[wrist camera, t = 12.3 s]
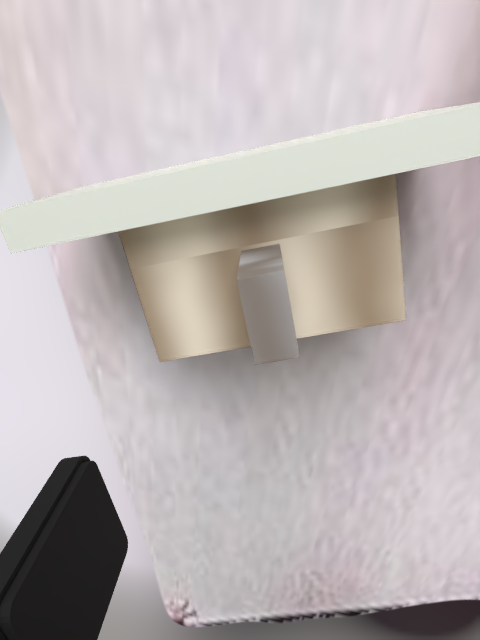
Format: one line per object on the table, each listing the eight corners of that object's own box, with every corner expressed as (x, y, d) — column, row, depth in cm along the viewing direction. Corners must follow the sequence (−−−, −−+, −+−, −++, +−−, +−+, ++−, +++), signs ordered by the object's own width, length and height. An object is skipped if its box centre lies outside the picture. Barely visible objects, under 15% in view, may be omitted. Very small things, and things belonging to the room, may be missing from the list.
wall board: (416, 112, 28) (516, 96, 17) (418, 144, 29) (515, 148, 18) (88, 185, 31) (-7, 212, 20) (97, 213, 32) (11, 253, 21)
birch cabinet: (353, 158, 30) (434, 176, 16) (364, 268, 33) (441, 364, 19) (158, 200, 31) (79, 250, 18) (186, 301, 34) (137, 412, 21)
